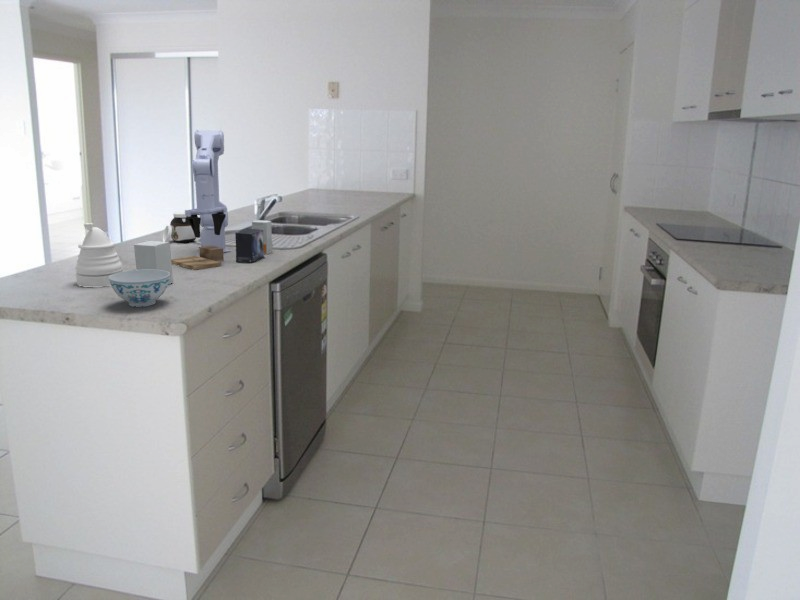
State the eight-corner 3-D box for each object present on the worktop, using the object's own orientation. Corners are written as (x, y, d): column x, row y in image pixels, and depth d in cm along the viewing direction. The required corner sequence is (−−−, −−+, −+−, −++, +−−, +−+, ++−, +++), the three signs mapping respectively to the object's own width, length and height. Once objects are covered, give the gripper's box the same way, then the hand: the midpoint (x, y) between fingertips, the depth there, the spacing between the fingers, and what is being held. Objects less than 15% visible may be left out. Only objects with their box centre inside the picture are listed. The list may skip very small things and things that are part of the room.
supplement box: (174, 283, 199) (171, 241, 195) (157, 288, 192) (154, 245, 189) (153, 281, 201) (150, 240, 198) (136, 286, 194) (133, 243, 191)
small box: (253, 263, 228) (251, 233, 226) (235, 262, 230) (234, 232, 227) (265, 257, 238) (264, 228, 236) (248, 256, 240) (246, 228, 237)
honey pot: (94, 289, 190) (87, 227, 185) (68, 283, 196) (60, 223, 192) (133, 281, 200) (127, 222, 196) (106, 276, 207) (101, 218, 202)
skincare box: (252, 253, 246) (251, 221, 243) (258, 251, 250) (256, 219, 247) (267, 254, 244) (266, 222, 241) (272, 252, 248) (271, 220, 245)
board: (169, 263, 227) (168, 259, 227) (195, 259, 234) (195, 255, 234) (194, 270, 217) (194, 266, 216) (220, 265, 224) (220, 262, 223)
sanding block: (199, 259, 234) (199, 247, 233) (211, 257, 238) (210, 245, 236) (212, 262, 229) (211, 250, 228) (223, 261, 232) (223, 248, 231)
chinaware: (129, 295, 184) (126, 268, 182) (181, 297, 183) (179, 270, 181) (100, 309, 170) (97, 280, 168) (156, 312, 168) (153, 282, 166)
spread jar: (200, 241, 268) (198, 213, 265) (177, 245, 259) (175, 216, 256) (180, 238, 274) (178, 210, 271) (157, 242, 265) (155, 213, 262)
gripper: (192, 197, 211) (194, 240, 215) (230, 194, 222) (232, 235, 225) (180, 196, 216) (183, 237, 219) (218, 193, 226) (220, 232, 230)
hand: (207, 236), depth 223 cm, fingers open, 7 cm apart
